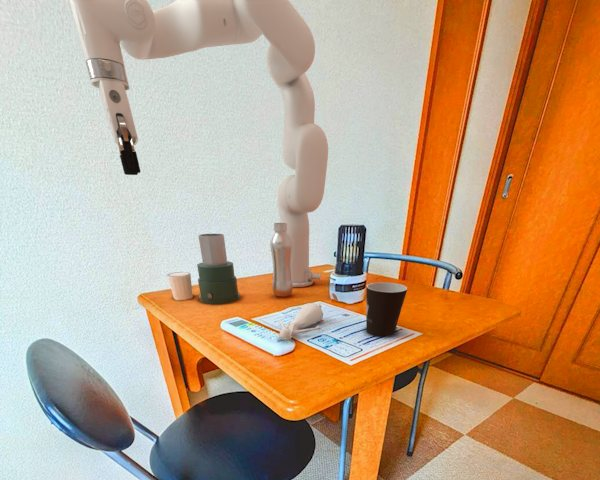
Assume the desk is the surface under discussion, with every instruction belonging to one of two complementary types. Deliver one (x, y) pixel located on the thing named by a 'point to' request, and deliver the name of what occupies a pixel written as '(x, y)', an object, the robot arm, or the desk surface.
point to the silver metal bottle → (281, 261)
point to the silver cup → (213, 249)
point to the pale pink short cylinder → (180, 285)
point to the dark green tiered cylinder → (217, 284)
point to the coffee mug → (383, 307)
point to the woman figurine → (302, 321)
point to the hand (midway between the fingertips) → (132, 173)
